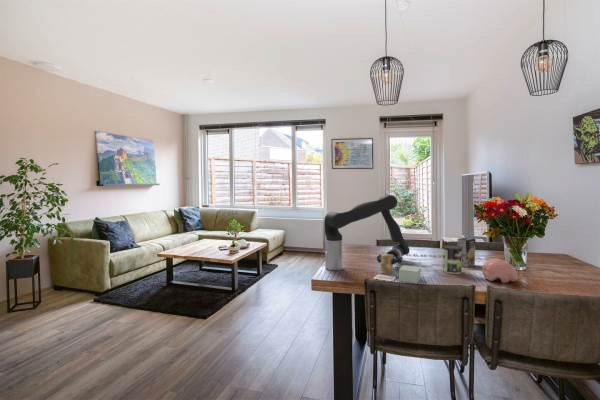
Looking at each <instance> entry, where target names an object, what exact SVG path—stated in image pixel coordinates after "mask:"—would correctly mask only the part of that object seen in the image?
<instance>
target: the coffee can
mask: <svg viewBox="0 0 600 400" xmlns="http://www.w3.org/2000/svg"><path fill="white" fill-rule="evenodd" d="M461 265H462V247H460V246H457V245H455V244H445V245H441V272H443V271H444V272H443V273H445V272H446V273H445V274H449V273H450V274H452V275H460V274H462V266H461ZM450 274H449V275H450Z"/></svg>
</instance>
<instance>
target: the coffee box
mask: <svg viewBox="0 0 600 400" xmlns="http://www.w3.org/2000/svg"><path fill="white" fill-rule="evenodd" d="M456 246H460V247H462V265H461V267H462V268H463V267H464V268H469V267H472V266H475V264H476V263H475V262H476V238H473V237H466V236H465V237H460V238H457V245H456Z"/></svg>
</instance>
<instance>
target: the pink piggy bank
mask: <svg viewBox="0 0 600 400" xmlns="http://www.w3.org/2000/svg"><path fill="white" fill-rule="evenodd" d="M481 272H482V275H483V277H484V278H485V279H486V280H489V281H490V282H494V281H495V280H500V282H501V283H502V284H507V283H509V282H515V281H517V280H518V272H517V269H516V268H515V267H514V266H513V265H512V264H511V263H509V262H508V261H507V260H503V259H500V258H490V259H489V260H487V261H485V262H484V263H483V265H482V271H481Z"/></svg>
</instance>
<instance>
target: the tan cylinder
mask: <svg viewBox="0 0 600 400" xmlns="http://www.w3.org/2000/svg"><path fill="white" fill-rule="evenodd" d="M380 255H381V263H380V268H381V269H380V273H381V274H386V275H391V274H392V273H393V272H394V271H393V265H394V264H393V265H392V260H393V254H386V253H383V254H380Z"/></svg>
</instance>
